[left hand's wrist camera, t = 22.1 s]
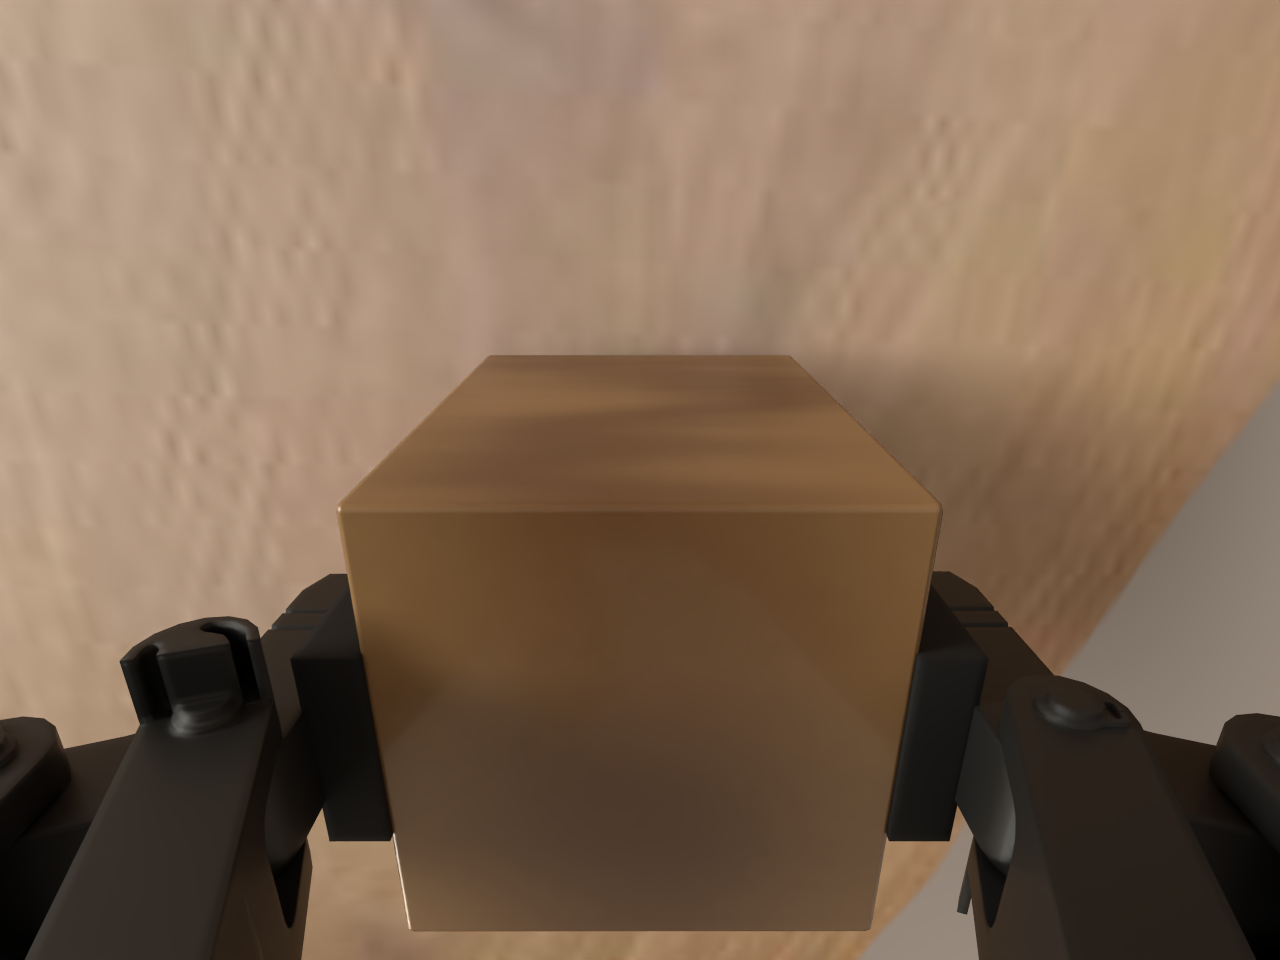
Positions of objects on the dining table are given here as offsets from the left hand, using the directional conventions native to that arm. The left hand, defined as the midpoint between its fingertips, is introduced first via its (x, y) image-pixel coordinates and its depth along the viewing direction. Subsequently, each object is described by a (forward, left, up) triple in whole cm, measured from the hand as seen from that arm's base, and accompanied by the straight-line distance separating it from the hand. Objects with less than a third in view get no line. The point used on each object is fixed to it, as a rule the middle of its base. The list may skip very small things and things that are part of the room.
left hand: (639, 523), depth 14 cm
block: (0, 0, -1) cm, 1 cm away
